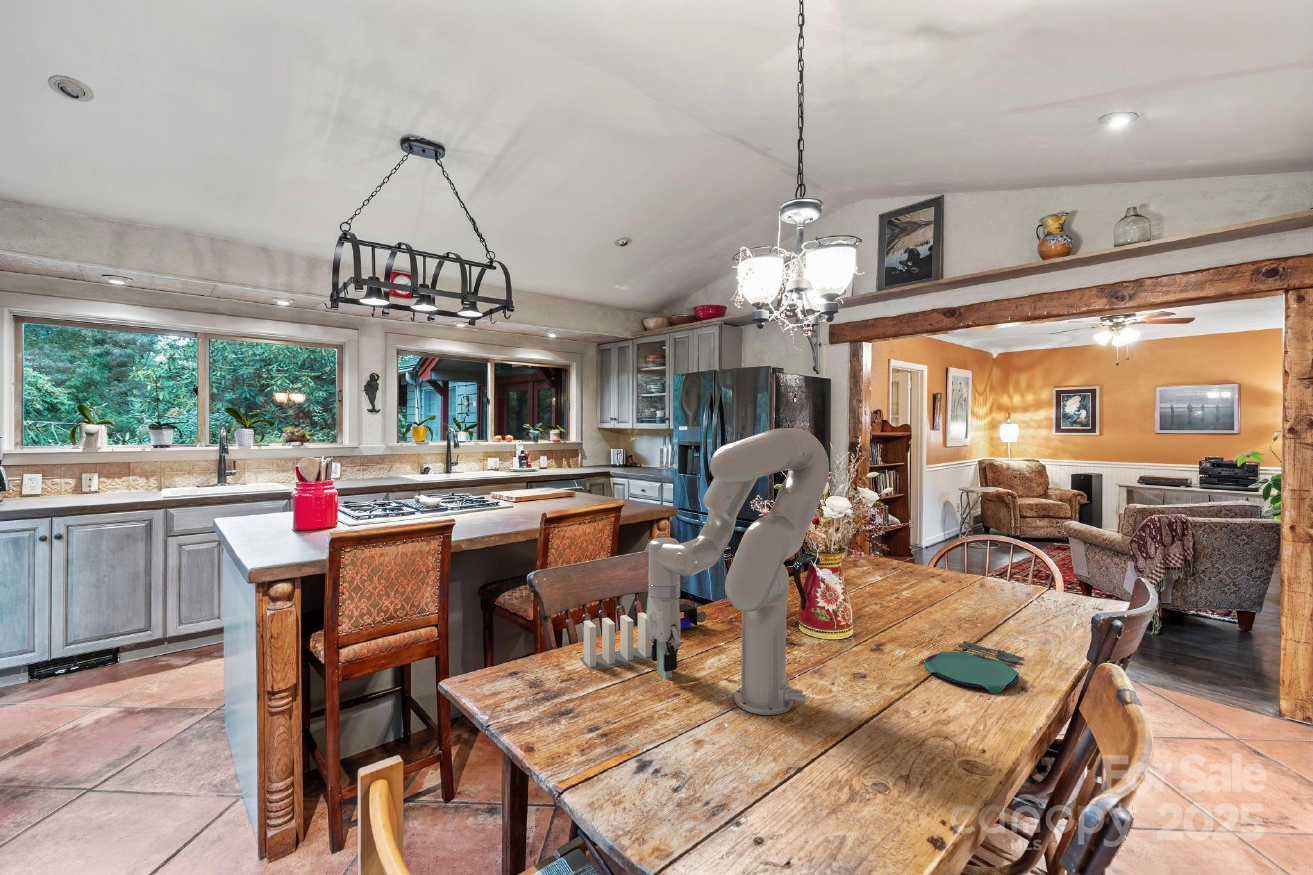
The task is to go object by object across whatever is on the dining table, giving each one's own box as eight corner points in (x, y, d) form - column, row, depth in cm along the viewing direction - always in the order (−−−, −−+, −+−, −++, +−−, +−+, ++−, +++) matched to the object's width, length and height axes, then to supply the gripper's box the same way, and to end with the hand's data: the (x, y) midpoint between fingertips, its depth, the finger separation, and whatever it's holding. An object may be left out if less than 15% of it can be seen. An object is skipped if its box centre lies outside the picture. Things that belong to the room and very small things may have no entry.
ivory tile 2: (626, 652, 153) (626, 614, 152) (633, 659, 148) (633, 620, 148) (620, 653, 152) (620, 615, 152) (627, 660, 147) (627, 621, 147)
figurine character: (691, 627, 178) (650, 631, 169) (694, 601, 178) (653, 604, 170) (705, 633, 172) (664, 638, 164) (708, 607, 173) (666, 610, 164)
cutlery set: (911, 675, 140) (911, 666, 140) (957, 643, 161) (957, 635, 161) (1003, 704, 126) (1004, 693, 126) (1040, 665, 147) (1040, 656, 147)
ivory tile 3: (608, 655, 150) (608, 617, 150) (614, 662, 146) (614, 623, 146) (602, 656, 150) (602, 618, 150) (608, 664, 145) (608, 624, 145)
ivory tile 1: (643, 649, 155) (643, 612, 155) (651, 656, 150) (651, 617, 150) (637, 650, 154) (637, 613, 154) (645, 657, 150) (645, 618, 149)
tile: (662, 671, 142) (662, 630, 142) (671, 679, 137) (671, 637, 137) (656, 672, 141) (656, 631, 141) (665, 680, 137) (665, 638, 137)
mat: (663, 644, 159) (663, 643, 159) (677, 656, 151) (677, 654, 151) (578, 659, 149) (578, 657, 149) (589, 672, 141) (589, 671, 141)
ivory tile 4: (589, 659, 148) (589, 620, 148) (596, 666, 144) (596, 626, 144) (583, 660, 148) (583, 621, 148) (590, 667, 143) (589, 627, 143)
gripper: (635, 583, 145) (635, 654, 145) (665, 602, 130) (665, 682, 130) (662, 580, 148) (662, 650, 149) (695, 597, 133) (695, 676, 133)
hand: (664, 664), depth 139 cm, fingers open, 5 cm apart
